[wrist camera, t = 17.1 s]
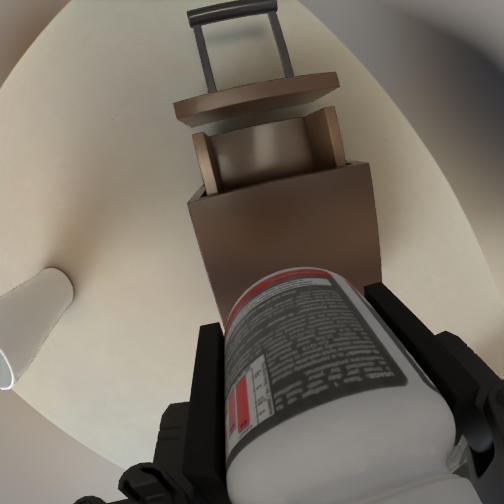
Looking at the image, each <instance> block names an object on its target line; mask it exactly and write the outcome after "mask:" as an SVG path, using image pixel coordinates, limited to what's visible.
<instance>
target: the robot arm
mask: <svg viewBox="0 0 504 504" xmlns="http://www.w3.org/2000/svg"><path fill="white" fill-rule="evenodd" d="M364 298H365V299H366V300H367V302H368V303H369V304H370V305H371V306H372V307H373V308H374V310H375V311H376V312H377V313H378V315H379V316H380V317H381V318H382V319H383V321H384V322H385V323H386V324H387V326H388V327H389V328H390V329H391V331H392V332H393V333H394V334H395V336H396V337H397V338H398V339H399V340H400V342H401V343H402V344H403V345H404V347H405V348H406V349H407V351H408V352H409V353H410V355H411V356H412V357H413V358H414V360H415V361H416V362H417V364H418V365H419V366H420V367H421V369H422V370H423V371H424V373H425V374H426V375H427V376H428V377H429V379H430V380H431V382H432V383H433V384H434V386H435V387H436V388H437V389H438V391H439V392H440V393H441V395H442V396H443V398H444V399H445V401H446V403H447V405H448V406H449V408H450V410H451V412H452V414H453V417H454V422H455V428H456V435H455V443H454V447H455V446H457V445H458V443H459V441H460V439H461V436H462V434H463V436H464V437H465V439H466V440H467V445H466V447H465V449H464V451H463V453H462V455H461V457H460V459H459V466H460V465H462V464H463V462H464V461H465V459H466V458H467V463H468V468H469V472H470V477H471V483H472V486H473V487H474V489H475V491H476V493H477V495H478V496H479V498H480V500H481V502H482V504H504V380H501V379H500V378H499V377H498V376H497V375H496V374H495V373H494V372H493V371H492V370H491V369H490V368H489V367H488V366H487V365H486V363H485V362H484V361H483V360H482V359H481V358H480V357H479V356H478V355H477V354H474V351H473V350H472V349H471V348H470V347H467V344H465V343H464V342H463V341H462V340H461V339H460V338H459V337H458V336H456V335H454V334H452V333H450V332H447V331H444V332H441V333H439V334H437V335H434V334H433V333H432V332H431V331H430V330H429V329H428V328H427V327H426V326H425V325H424V324H423V323H422V322H421V321H420V320H419V319H418V318H417V317H416V316H415V315H414V314H413V313H412V312H411V311H410V310H409V309H408V308H407V307H406V306H405V305H404V304H403V303H402V302H401V301H400V300H399V299H398V298H397V297H396V296H395V295H394V294H393V293H392V292H391V291H390V290H389V289H388V288H387V287H386V286H385V285H384V284H383V283H382V282H377V283H374V284H370V285H367V286H364ZM157 439H158V441H157V443H156V449H155V454H154V459H153V463H151V462H147V463H139V464H137V465H134V466H132V467H130V468H129V469H128V470H126V471H125V472H124V473H123V475H122V476H121V478H120V480H119V485H118V489H119V490H120V491H121V492H122V493H123V494H124V495H125V496H126V497H128V499H124V500H120V501H116V502H111V503H105V502H104V501H103V500H102V499H101V498H98V497H95V496H84V497H82V498H80V499H78V500H77V501H76V502H75V503H74V504H232V503H231V501H230V498H229V496H228V491H227V482H226V461H225V399H224V335H223V332H222V329H221V326H220V323H219V322H217V323H212V324H207V325H202V326H200V331H199V337H198V344H197V351H196V358H195V365H194V372H193V380H192V387H191V395H190V402H182V403H174V404H170V405H169V406H168V408H167V409H166V411H165V412H164V414H163V415H162V418H161V423H160V431H159V433H158V438H157Z"/></svg>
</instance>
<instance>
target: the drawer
mask: <svg viewBox="0 0 504 504" xmlns="http://www.w3.org/2000/svg"><path fill="white" fill-rule="evenodd" d="M277 9H278V7H277V1H276V0H237V1H231V2H225V3H220V4H215V5H211V6H206V7H202V8H197V9H193V10H189V11H187V16H188V20H189V24H190V27H191V28H193V29H194V34H195V38H196V42H197V46H198V50H199V54H200V59H201V63H202V67H203V71H204V75H205V79H206V83H207V87H208V92H209V93H208V94H204V95H200V96H197V97H193V98H189V99H186V100H182V101H179V102H175V103H173V105H174V109H175V113H176V117H177V119H178V120H179V121H181V122H183V123H184V124H186V125H188V126H190V127H191V128H192V127H196V126H200V125H204V124H207V123H211V122H215V121H219V120H223V119H228V118H232V117H236V116H241V115H245V114H250V113H255V112H260V111H265V110H270V109H275V108H280V107H286V106H292V105H298V104H304V103H311V102H314V101H315V100H317V99H319V98H321V97H323V96H324V95H326V94H328V93H330V92H332V91H334V90H335V89H337V88H339V87H340V85H339V81H338V77H337V73H336V72H327V73H318V74H309V75H302V76H294V73H293V69H292V65H291V62H290V58H289V54H288V51H287V47H286V44H285V40H284V37H283V33H282V30H281V27H280V24H279V20H278V17H277V14H276V12H277ZM266 13H268V17H269V20H270V24H271V27H272V31H273V34H274V37H275V41H276V44H277V48H278V51H279V55H280V59H281V62H282V66H283V70H284V74H285V77H286V78H281V79H275V80H269V81H264V82H258V83H253V84H248V85H243V86H238V87H234V88H229V89H225V90H221V91H217V90H216V86H215V82H214V78H213V74H212V70H211V66H210V62H209V58H208V54H207V49H206V45H205V41H204V37H203V33H202V29H201V25H206V24H210V23H215V22H219V21H224V20H229V19H234V18H240V17H246V16H252V15H259V14H266ZM192 138H193V142H194V146H195V150H196V154H197V158H198V162H199V166H200V170H201V173H202V177H203V181H204V185H205V189H206V193H207V196H210V195H214V194H218V193H222V192H226V191H230V190H234V189H238V188H242V187H247V186H251V185H255V184H260V183H264V182H268V181H273V180H277V179H282V178H286V177H291V176H296V175H301V174H305V173H310V172H315V171H320V170H325V169H331V168H336V167H341V166H347V165H346V160H345V154H344V149H343V144H342V139H341V134H340V130H339V125H338V120H337V116H336V111H335V107H334V106H331V107H324V108H322V109H320V110H317V111H315V112H313V113H311V114H308V115H306V116H304V117H298V118H292V119H287V120H282V121H276V122H271V123H266V124H261V125H256V126H252V127H247V128H243V129H238V130H234V131H230V132H226V133H221V134H217V135H213V136H208V135H207V134H205V133H204V132H200V133H197V134H193V135H192Z"/></svg>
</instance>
